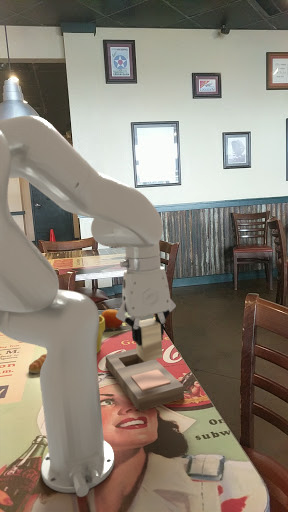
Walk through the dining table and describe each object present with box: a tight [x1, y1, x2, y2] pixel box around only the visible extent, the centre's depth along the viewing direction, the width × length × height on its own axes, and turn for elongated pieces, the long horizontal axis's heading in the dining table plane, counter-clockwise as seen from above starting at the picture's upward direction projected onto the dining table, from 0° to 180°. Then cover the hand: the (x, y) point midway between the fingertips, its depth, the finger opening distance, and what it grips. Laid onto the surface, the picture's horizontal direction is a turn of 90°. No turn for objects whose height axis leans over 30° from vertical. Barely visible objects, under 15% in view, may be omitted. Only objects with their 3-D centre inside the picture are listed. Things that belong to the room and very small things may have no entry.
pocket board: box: [104, 348, 185, 412], centre depth 94 cm, size 24×11×3 cm, turn 23°
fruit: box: [100, 308, 124, 333], centre depth 130 cm, size 8×8×8 cm
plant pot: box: [97, 314, 106, 354], centre depth 113 cm, size 10×10×10 cm
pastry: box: [28, 353, 47, 375], centre depth 104 cm, size 9×7×4 cm
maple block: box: [135, 318, 163, 362], centre depth 87 cm, size 4×4×8 cm
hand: (148, 340), depth 87 cm, fingers closed on maple block, 4 cm apart
